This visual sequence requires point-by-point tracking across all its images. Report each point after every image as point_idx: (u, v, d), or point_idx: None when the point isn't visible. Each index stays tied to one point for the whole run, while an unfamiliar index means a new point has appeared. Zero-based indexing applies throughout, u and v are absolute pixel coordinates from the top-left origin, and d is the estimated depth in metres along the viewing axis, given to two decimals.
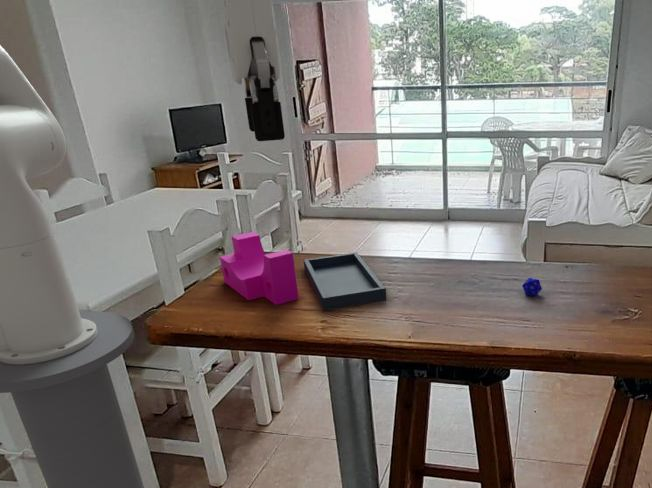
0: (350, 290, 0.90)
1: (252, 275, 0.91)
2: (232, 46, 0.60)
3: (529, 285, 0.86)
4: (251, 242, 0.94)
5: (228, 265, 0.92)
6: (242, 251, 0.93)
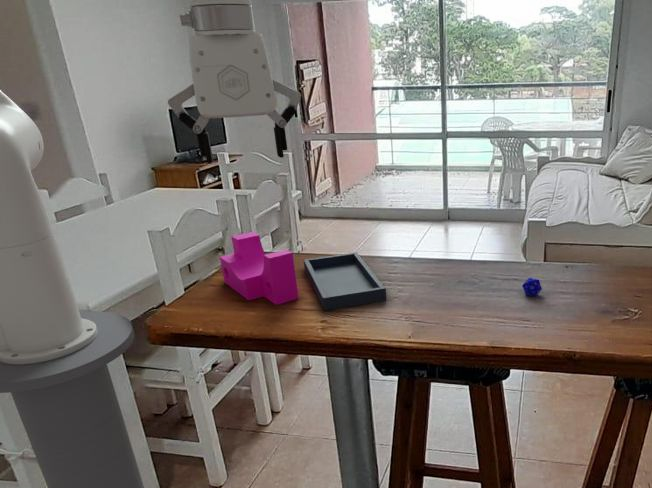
0: (350, 290, 0.90)
1: (252, 275, 0.91)
2: (269, 84, 0.76)
3: (529, 285, 0.86)
4: (251, 242, 0.94)
5: (228, 266, 0.92)
6: (242, 251, 0.93)
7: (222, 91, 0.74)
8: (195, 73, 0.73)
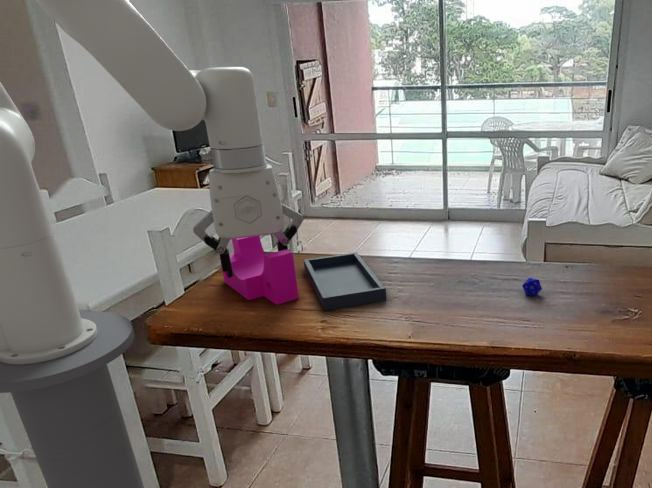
0: (350, 290, 0.90)
1: (252, 275, 0.91)
2: (279, 208, 0.86)
3: (528, 285, 0.86)
4: (251, 242, 0.94)
5: None
6: (242, 251, 0.93)
7: (238, 217, 0.84)
8: (214, 203, 0.83)
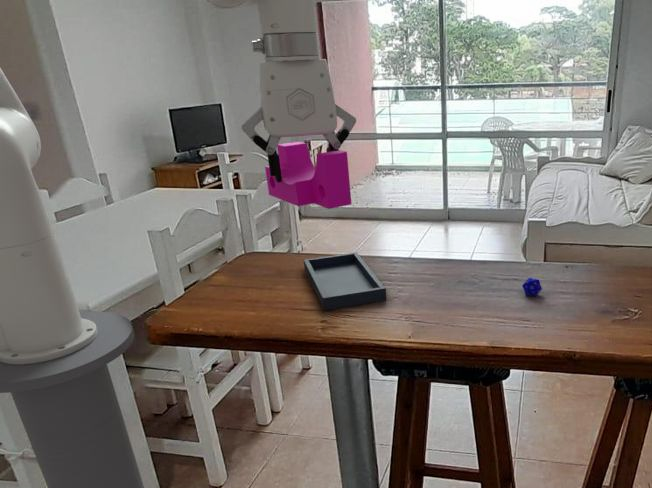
0: (350, 290, 0.90)
1: None
2: (332, 105, 0.81)
3: (528, 285, 0.86)
4: (298, 150, 0.89)
5: None
6: (289, 158, 0.88)
7: (290, 112, 0.79)
8: (266, 96, 0.78)
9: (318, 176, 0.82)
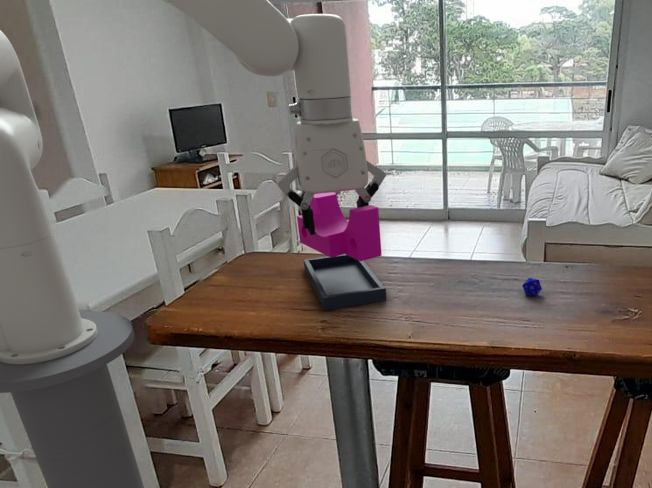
0: (350, 290, 0.90)
1: (333, 233, 0.89)
2: (364, 163, 0.85)
3: (528, 285, 0.86)
4: (328, 201, 0.93)
5: None
6: (321, 209, 0.92)
7: (324, 171, 0.83)
8: (302, 156, 0.81)
9: (350, 230, 0.85)
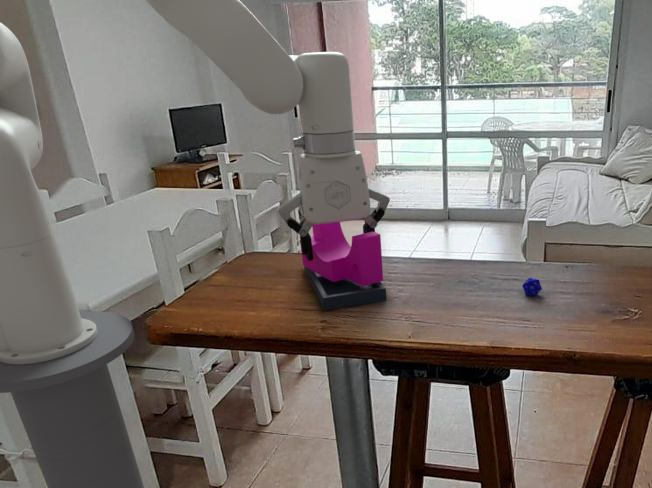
0: (350, 290, 0.90)
1: (335, 257, 0.91)
2: (366, 194, 0.87)
3: (528, 285, 0.86)
4: (331, 225, 0.95)
5: None
6: (323, 234, 0.94)
7: (327, 202, 0.85)
8: (306, 188, 0.83)
9: (353, 256, 0.87)
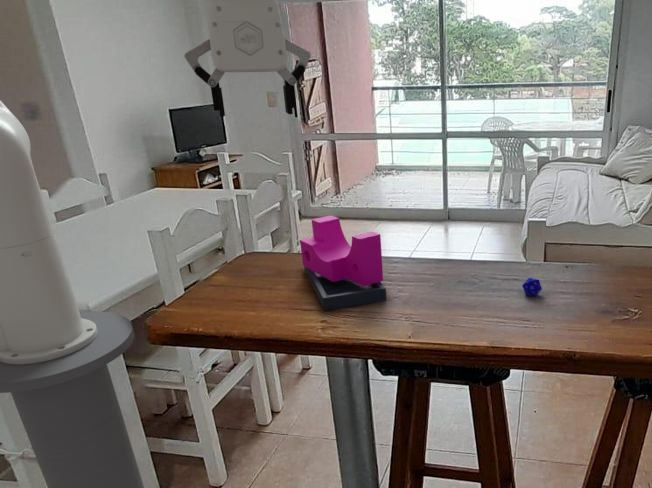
0: (350, 290, 0.90)
1: (335, 257, 0.91)
2: (281, 42, 0.80)
3: (528, 285, 0.86)
4: (331, 225, 0.95)
5: (311, 248, 0.92)
6: (323, 234, 0.94)
7: (237, 46, 0.78)
8: (212, 27, 0.77)
9: (353, 256, 0.87)
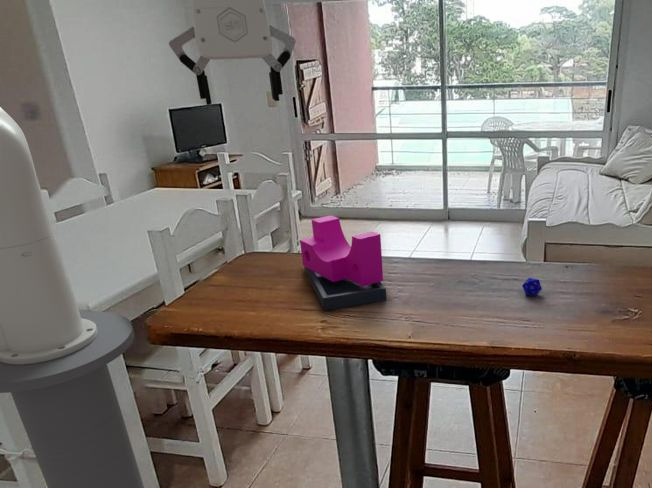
0: (350, 290, 0.90)
1: (335, 257, 0.91)
2: (266, 27, 0.80)
3: (528, 285, 0.86)
4: (331, 225, 0.95)
5: (311, 248, 0.92)
6: (323, 234, 0.94)
7: (221, 33, 0.78)
8: (196, 14, 0.77)
9: (353, 256, 0.87)
